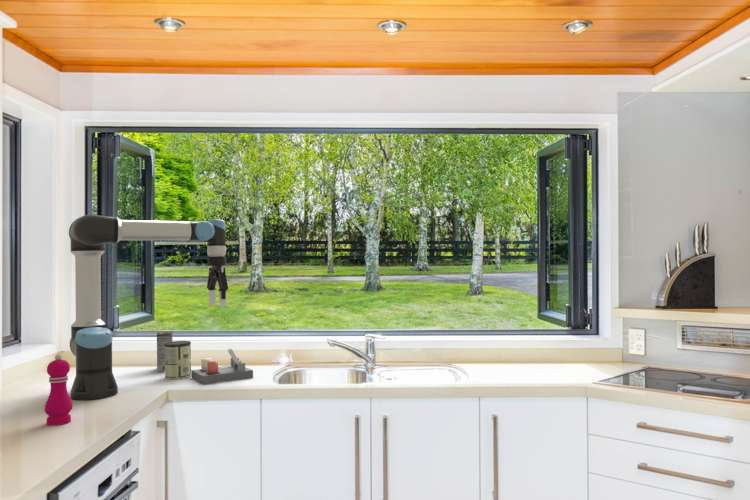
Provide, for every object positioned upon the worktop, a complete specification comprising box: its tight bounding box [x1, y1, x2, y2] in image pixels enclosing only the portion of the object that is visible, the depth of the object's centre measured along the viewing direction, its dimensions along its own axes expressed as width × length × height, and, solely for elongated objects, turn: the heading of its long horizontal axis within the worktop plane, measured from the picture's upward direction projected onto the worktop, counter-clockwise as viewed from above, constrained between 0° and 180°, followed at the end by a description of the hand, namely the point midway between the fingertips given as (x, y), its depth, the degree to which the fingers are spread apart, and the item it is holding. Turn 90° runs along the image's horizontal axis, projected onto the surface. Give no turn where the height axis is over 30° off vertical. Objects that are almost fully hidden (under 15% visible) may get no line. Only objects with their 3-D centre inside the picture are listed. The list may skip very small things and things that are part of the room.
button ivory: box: [200, 357, 213, 372], centre depth 233 cm, size 4×4×5 cm
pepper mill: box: [44, 353, 73, 426], centre depth 170 cm, size 7×7×20 cm
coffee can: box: [164, 340, 192, 380], centre depth 236 cm, size 10×10×14 cm
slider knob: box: [230, 357, 240, 366], centre depth 240 cm, size 2×3×3 cm
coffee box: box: [156, 331, 174, 373], centre depth 253 cm, size 9×6×16 cm
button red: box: [208, 360, 219, 375], centre depth 227 cm, size 4×4×5 cm
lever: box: [226, 348, 240, 367], centre depth 232 cm, size 2×3×9 cm, turn 35°
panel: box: [190, 360, 254, 385], centre depth 233 cm, size 20×16×6 cm
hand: (217, 306), depth 244 cm, fingers open, 13 cm apart
